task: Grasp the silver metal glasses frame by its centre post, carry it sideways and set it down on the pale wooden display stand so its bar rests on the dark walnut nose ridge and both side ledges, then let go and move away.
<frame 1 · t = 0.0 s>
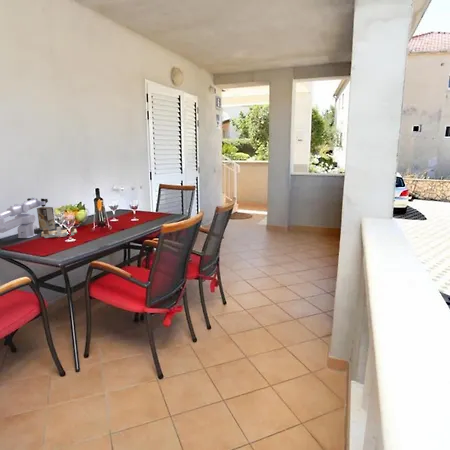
hand: (42, 200, 243), 22 cm above the table, tool horizontal, fingers open, 7 cm apart
glasses frame: (59, 236, 230), on the table
coffee box: (47, 229, 250), on the table
display stand: (59, 233, 237), on the table
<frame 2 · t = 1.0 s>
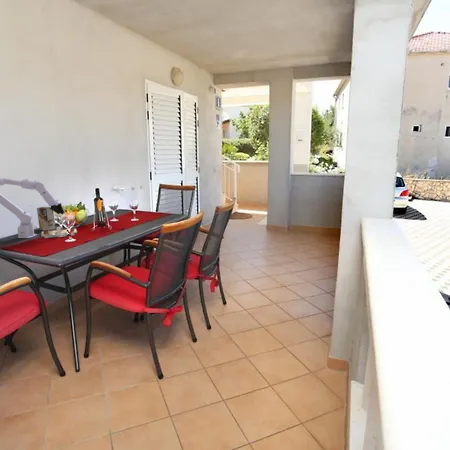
hand: (61, 213, 236), 14 cm above the table, tool tilted 30°, fingers open, 7 cm apart
nothing on the table moved.
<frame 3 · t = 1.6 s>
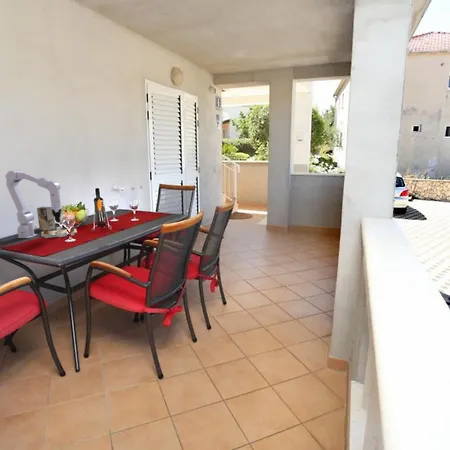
hand: (57, 221, 227), 10 cm above the table, tool pointing down, fingers open, 7 cm apart
nothing on the table moved.
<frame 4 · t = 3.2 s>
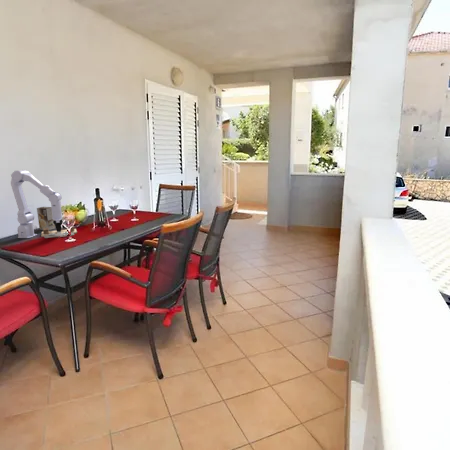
hand: (59, 231, 229), 3 cm above the table, tool pointing down, fingers closed on glasses frame, 2 cm apart
glasses frame: (59, 236, 229), on the table, touching gripper
everything else where it was.
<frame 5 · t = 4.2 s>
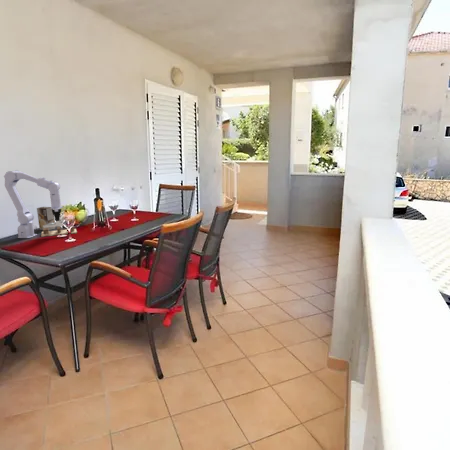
hand: (57, 220, 229), 10 cm above the table, tool pointing down, fingers closed on glasses frame, 2 cm apart
glasses frame: (58, 225, 230), point 7 cm above the table, touching gripper
everything else where it was.
when the fingers open (8 cm above the table, at t = 5.3 s): glasses frame stays where it is, resting on display stand.
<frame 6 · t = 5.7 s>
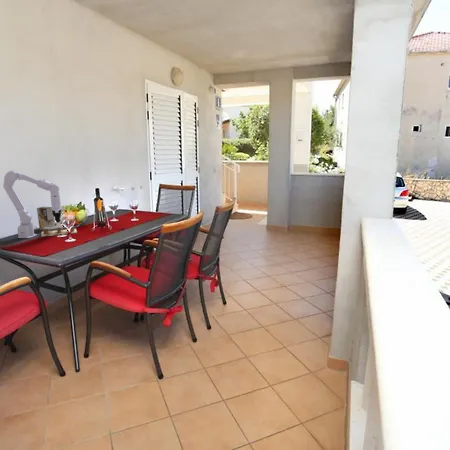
hand: (58, 221, 235), 8 cm above the table, tool pointing down, fingers open, 6 cm apart
glasses frame: (58, 227, 236), point 4 cm above the table, touching display stand
everything else where it was.
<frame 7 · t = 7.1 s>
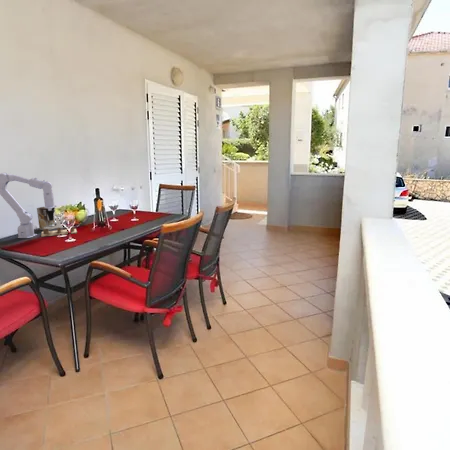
hand: (51, 219, 233), 10 cm above the table, tool pointing down, fingers open, 7 cm apart
nothing on the table moved.
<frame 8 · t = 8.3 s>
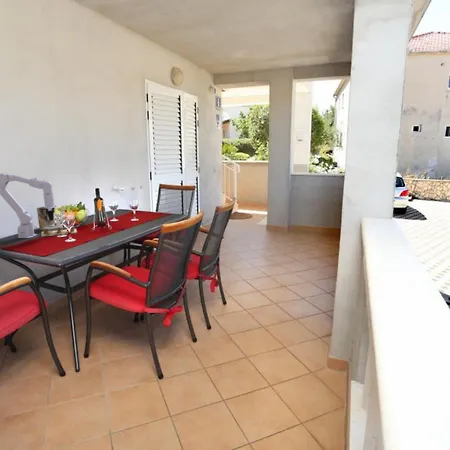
hand: (51, 219, 232), 10 cm above the table, tool pointing down, fingers open, 7 cm apart
nothing on the table moved.
at the end: glasses frame 0.0 cm off-centre on the display stand, point 4.0 cm above the display stand's base; glasses frame tilted 0°; the gripper is holding nothing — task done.
